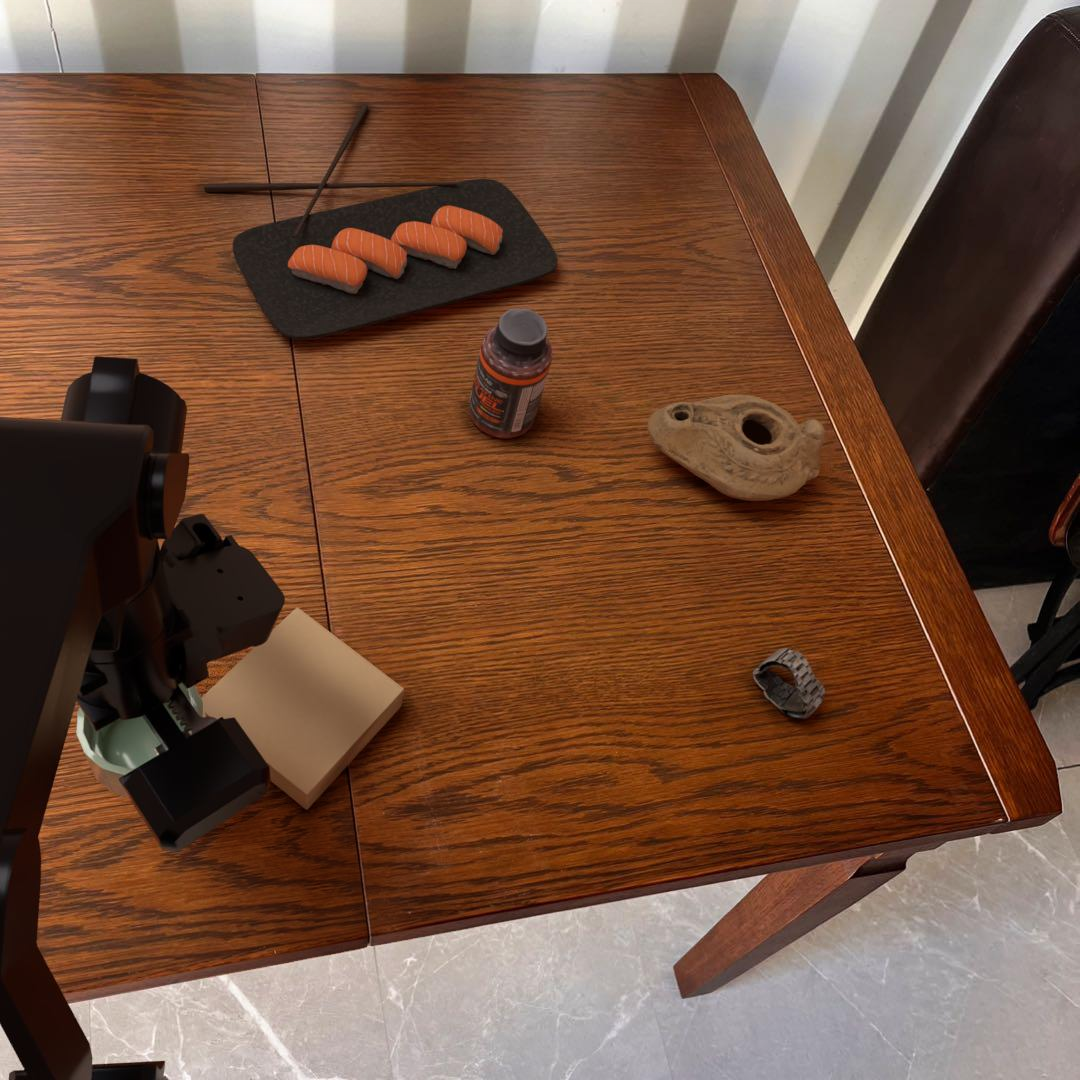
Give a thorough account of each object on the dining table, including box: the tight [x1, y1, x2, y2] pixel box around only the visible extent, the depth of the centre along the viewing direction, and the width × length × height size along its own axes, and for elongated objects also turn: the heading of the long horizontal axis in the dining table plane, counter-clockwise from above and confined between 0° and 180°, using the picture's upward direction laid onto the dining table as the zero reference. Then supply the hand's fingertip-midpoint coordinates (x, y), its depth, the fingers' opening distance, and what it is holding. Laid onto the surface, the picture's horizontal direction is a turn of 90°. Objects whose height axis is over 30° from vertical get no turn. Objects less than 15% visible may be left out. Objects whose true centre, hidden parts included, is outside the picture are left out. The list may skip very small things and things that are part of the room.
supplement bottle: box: [468, 307, 553, 439], centre depth 91 cm, size 6×6×11 cm
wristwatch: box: [752, 647, 826, 720], centre depth 84 cm, size 3×5×5 cm
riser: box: [201, 606, 405, 811], centre depth 76 cm, size 10×10×3 cm
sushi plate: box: [203, 103, 559, 341], centre depth 105 cm, size 29×30×4 cm
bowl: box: [75, 683, 206, 799], centre depth 64 cm, size 7×7×4 cm
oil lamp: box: [646, 394, 826, 502], centre depth 93 cm, size 11×15×8 cm
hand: (147, 737), depth 64 cm, fingers closed on bowl, 7 cm apart
